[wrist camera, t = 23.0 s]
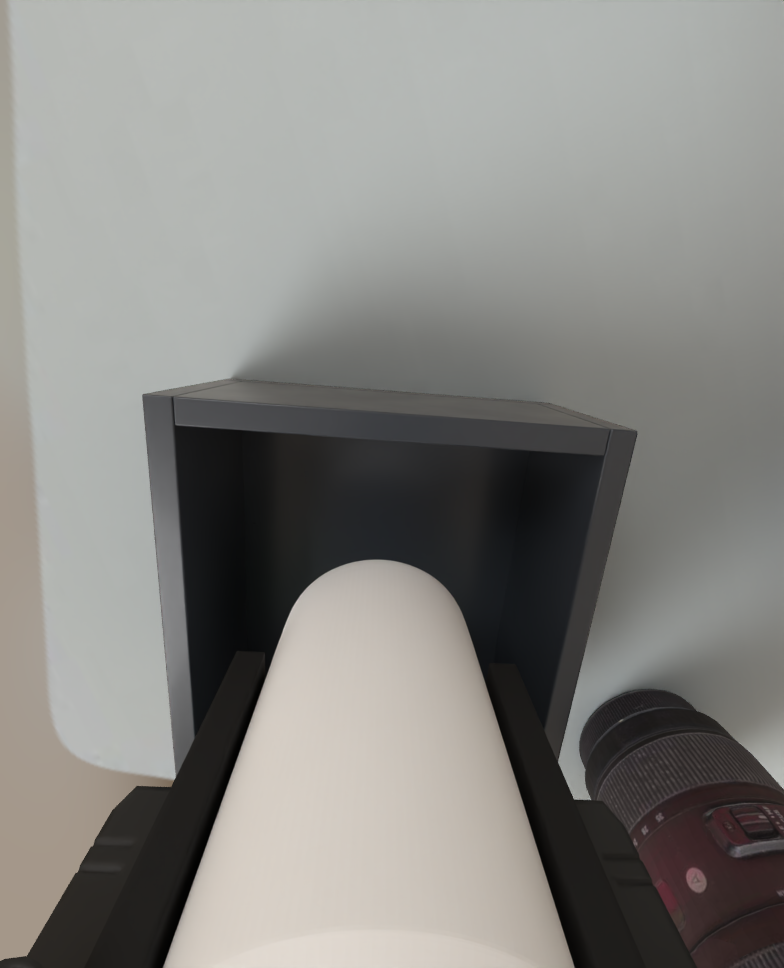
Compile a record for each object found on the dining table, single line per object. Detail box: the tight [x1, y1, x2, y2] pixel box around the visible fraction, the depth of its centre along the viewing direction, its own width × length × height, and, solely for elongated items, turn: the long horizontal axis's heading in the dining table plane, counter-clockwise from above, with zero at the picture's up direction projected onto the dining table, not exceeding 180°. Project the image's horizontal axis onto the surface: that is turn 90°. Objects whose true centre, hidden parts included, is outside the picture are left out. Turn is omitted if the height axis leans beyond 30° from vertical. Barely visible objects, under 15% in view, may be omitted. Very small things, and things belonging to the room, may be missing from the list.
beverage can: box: [163, 560, 575, 968], centre depth 10 cm, size 6×6×12 cm
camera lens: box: [580, 689, 784, 968], centre depth 17 cm, size 8×8×15 cm
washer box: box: [142, 379, 637, 776], centre depth 17 cm, size 16×14×7 cm
